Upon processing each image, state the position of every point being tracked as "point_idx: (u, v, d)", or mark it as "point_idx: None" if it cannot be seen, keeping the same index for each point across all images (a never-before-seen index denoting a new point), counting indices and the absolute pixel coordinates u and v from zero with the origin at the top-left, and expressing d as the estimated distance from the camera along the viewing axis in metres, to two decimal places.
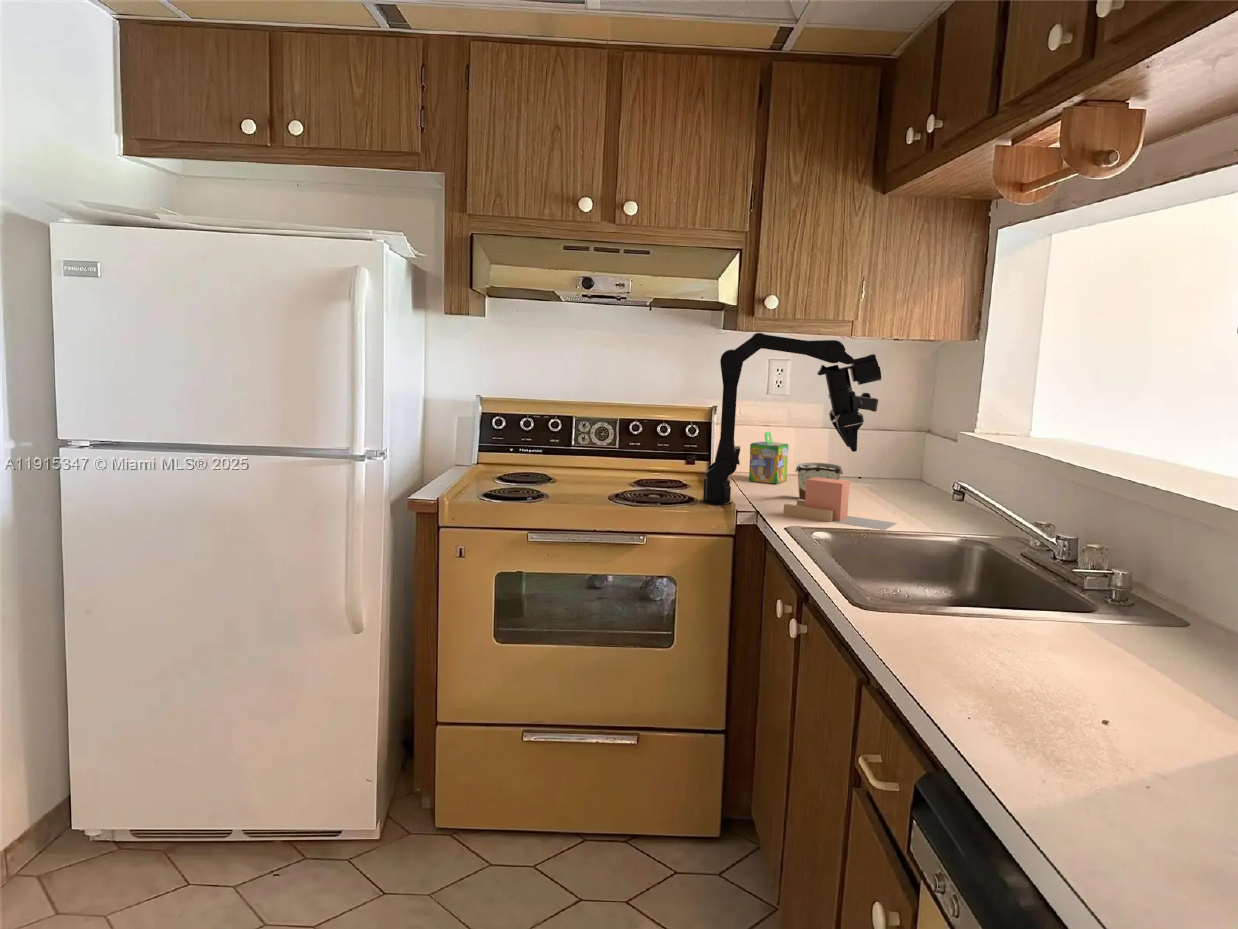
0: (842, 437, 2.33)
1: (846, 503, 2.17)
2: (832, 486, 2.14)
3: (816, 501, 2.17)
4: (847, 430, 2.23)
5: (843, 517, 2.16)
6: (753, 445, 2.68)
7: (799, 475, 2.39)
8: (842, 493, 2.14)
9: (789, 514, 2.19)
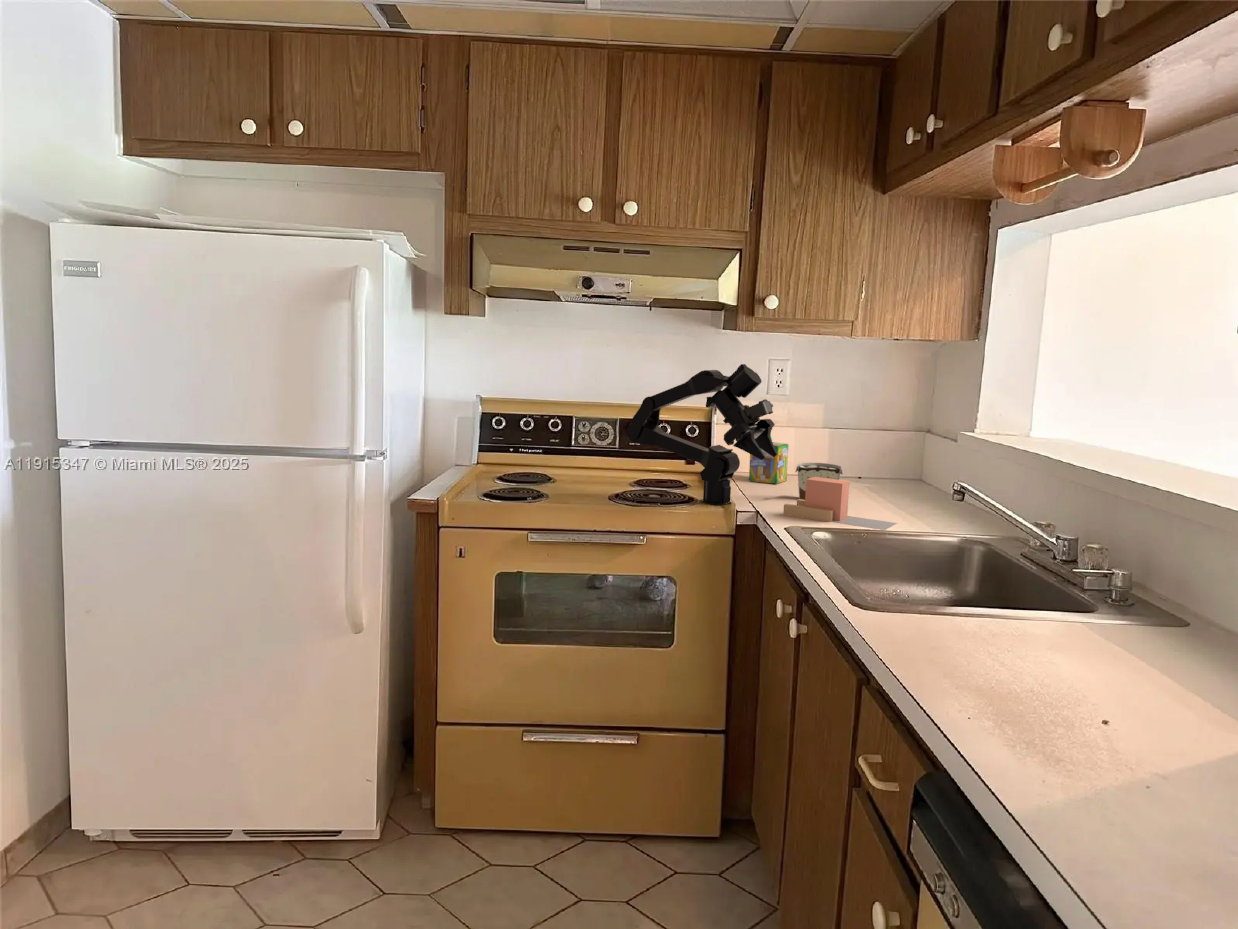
0: (765, 450, 2.30)
1: (846, 503, 2.17)
2: (832, 486, 2.14)
3: (816, 501, 2.17)
4: (745, 443, 2.23)
5: (843, 517, 2.16)
6: None
7: (799, 475, 2.39)
8: (842, 493, 2.14)
9: (789, 514, 2.19)
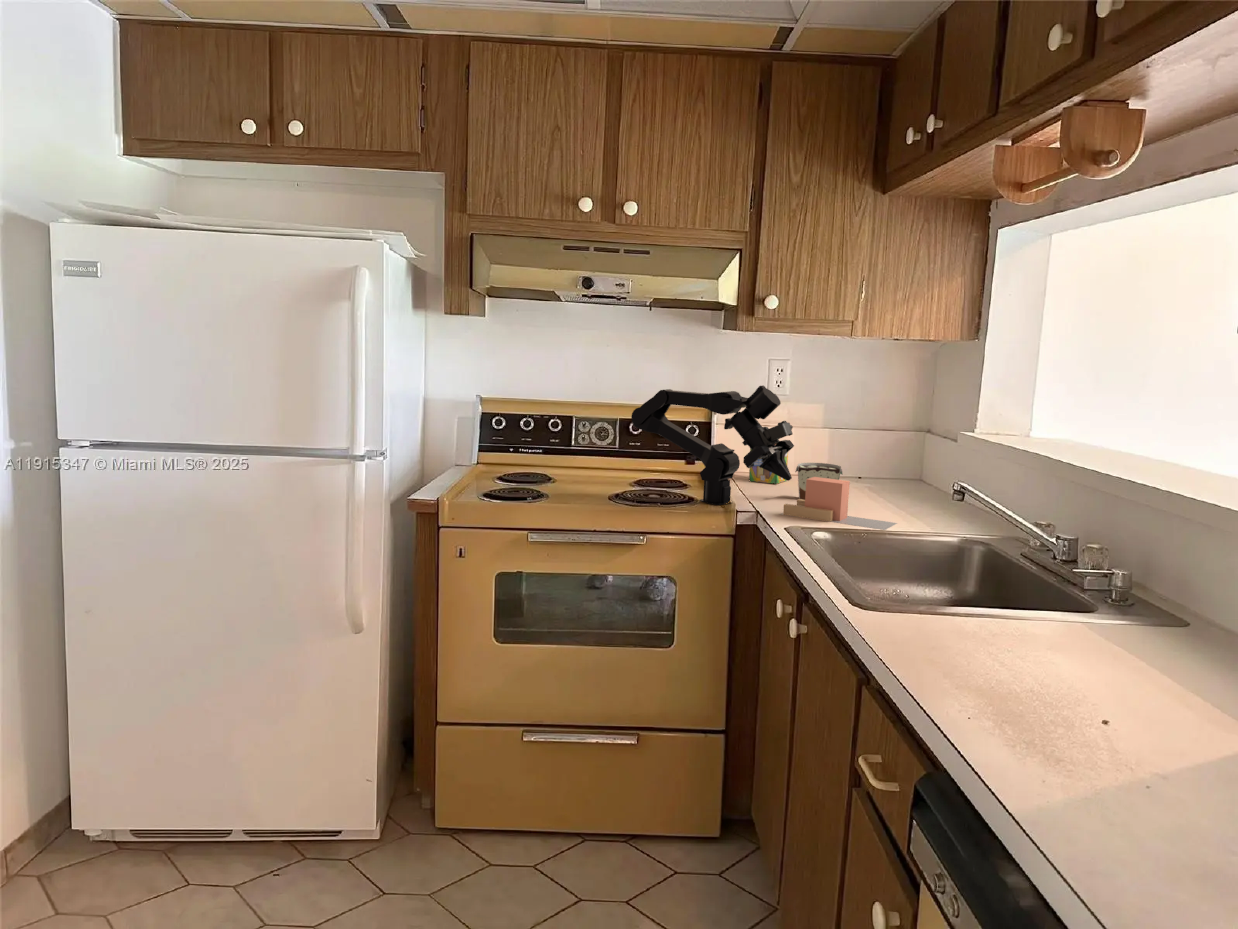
0: None
1: (846, 503, 2.17)
2: (832, 486, 2.14)
3: (816, 501, 2.17)
4: (770, 464, 2.24)
5: (843, 517, 2.16)
6: None
7: (799, 475, 2.39)
8: (842, 493, 2.14)
9: (789, 514, 2.19)
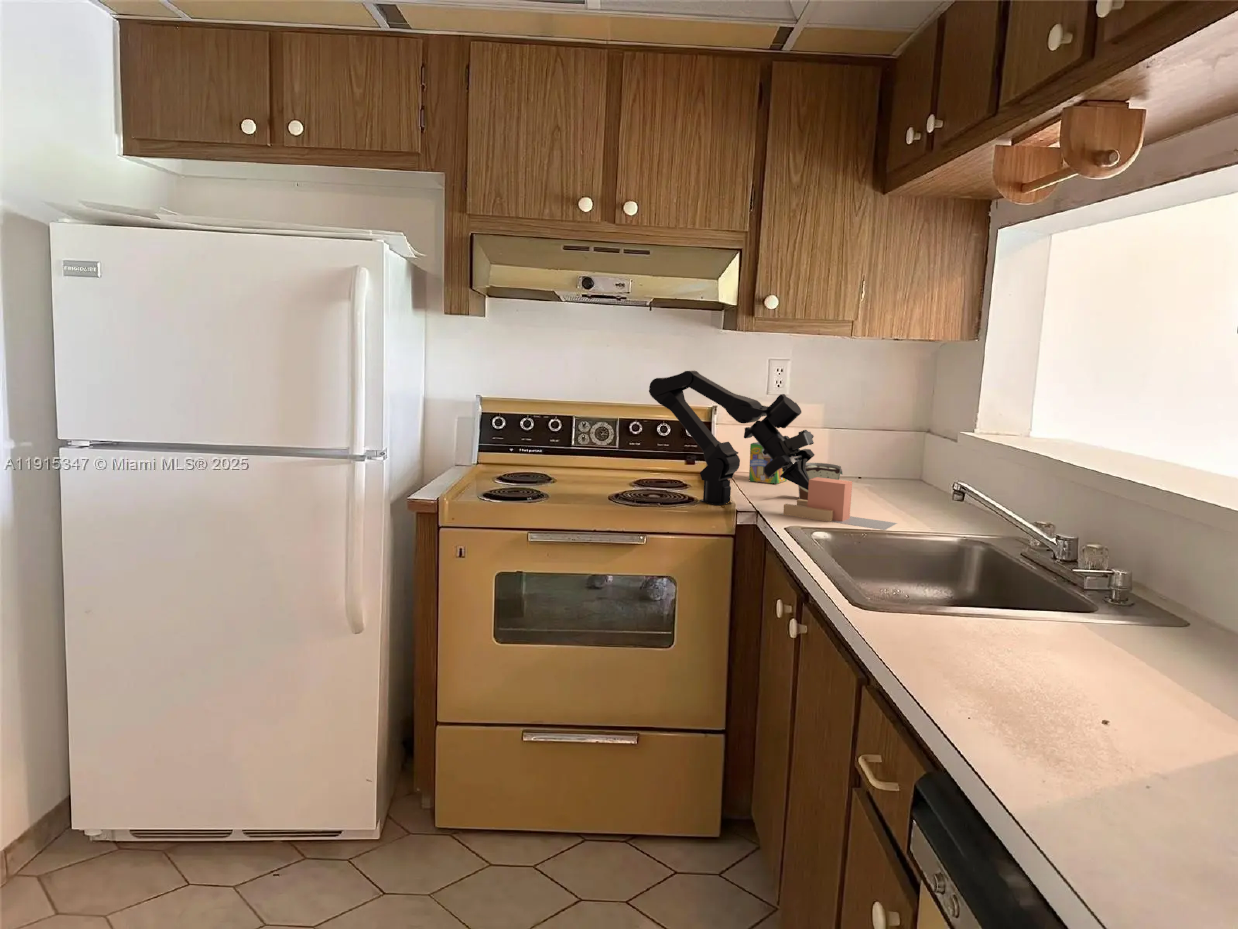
0: None
1: (849, 503, 2.16)
2: (834, 486, 2.14)
3: (818, 501, 2.17)
4: (791, 474, 2.21)
5: (846, 517, 2.16)
6: (753, 445, 2.68)
7: None
8: (845, 494, 2.13)
9: (789, 514, 2.19)
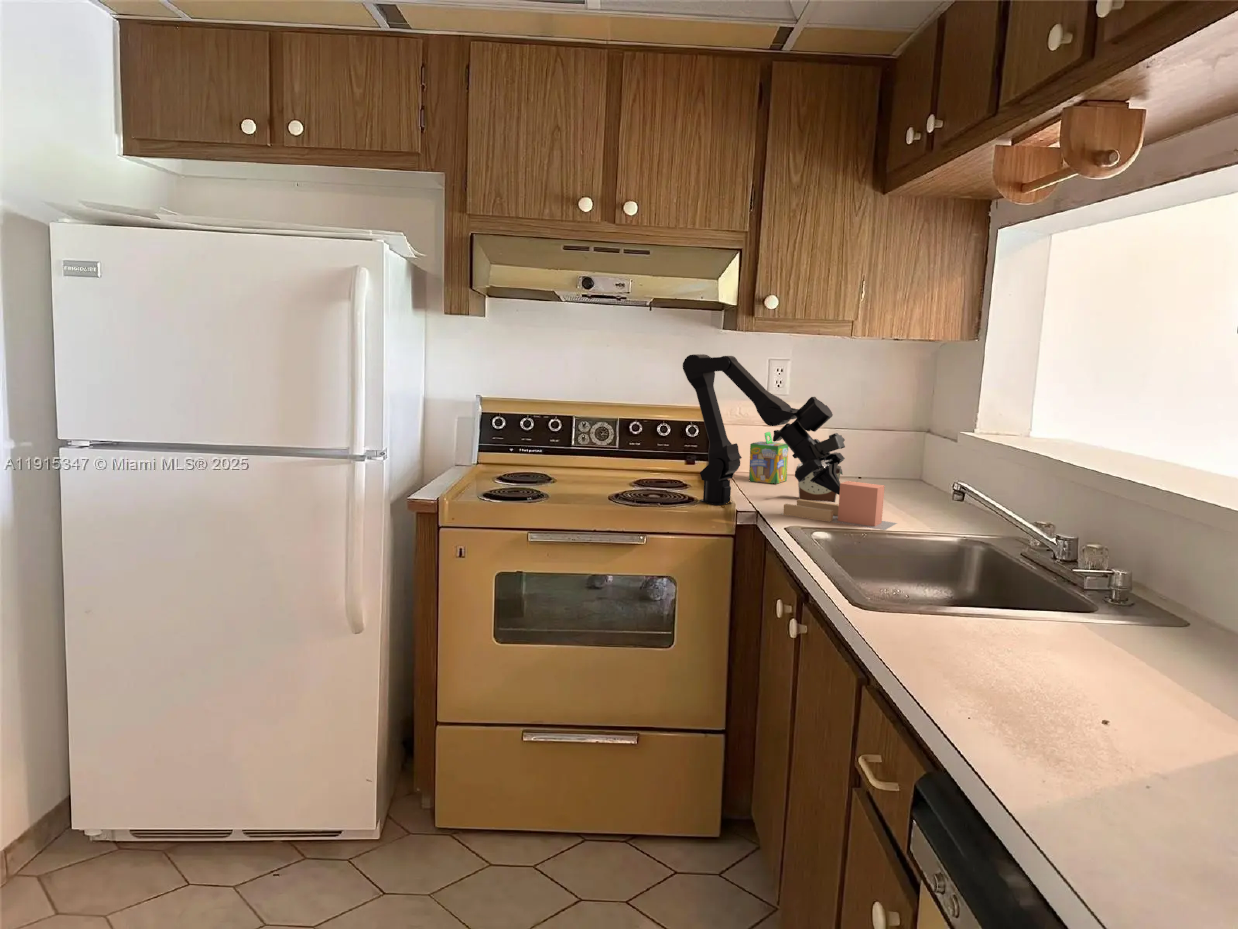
0: None
1: (881, 508, 2.12)
2: (867, 490, 2.10)
3: (850, 505, 2.12)
4: (822, 478, 2.17)
5: (878, 522, 2.11)
6: (753, 445, 2.68)
7: None
8: (877, 498, 2.09)
9: (789, 514, 2.19)
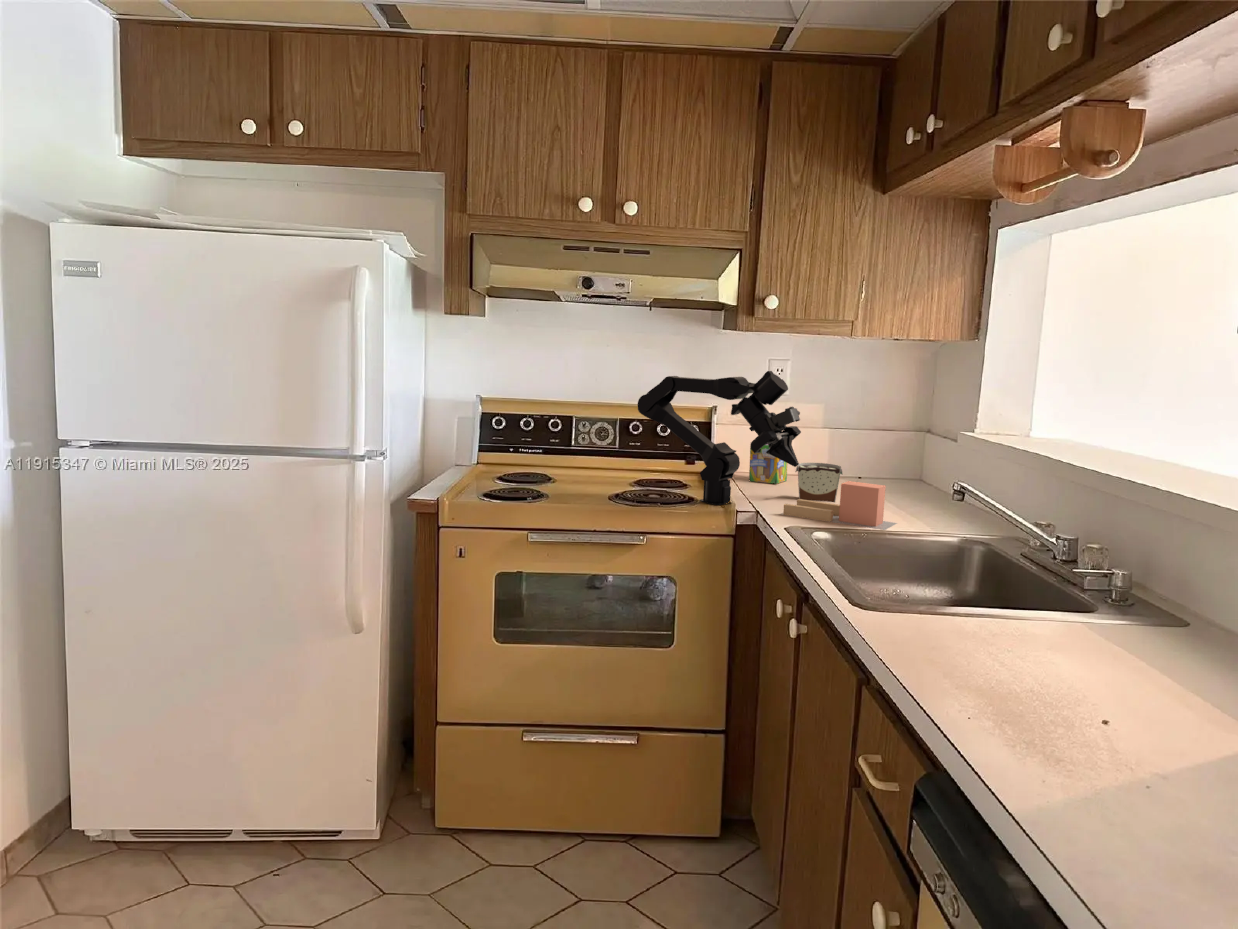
0: None
1: (882, 508, 2.12)
2: (868, 490, 2.09)
3: (851, 506, 2.12)
4: (777, 450, 2.22)
5: (879, 522, 2.11)
6: None
7: (799, 475, 2.39)
8: (878, 498, 2.09)
9: (789, 514, 2.19)
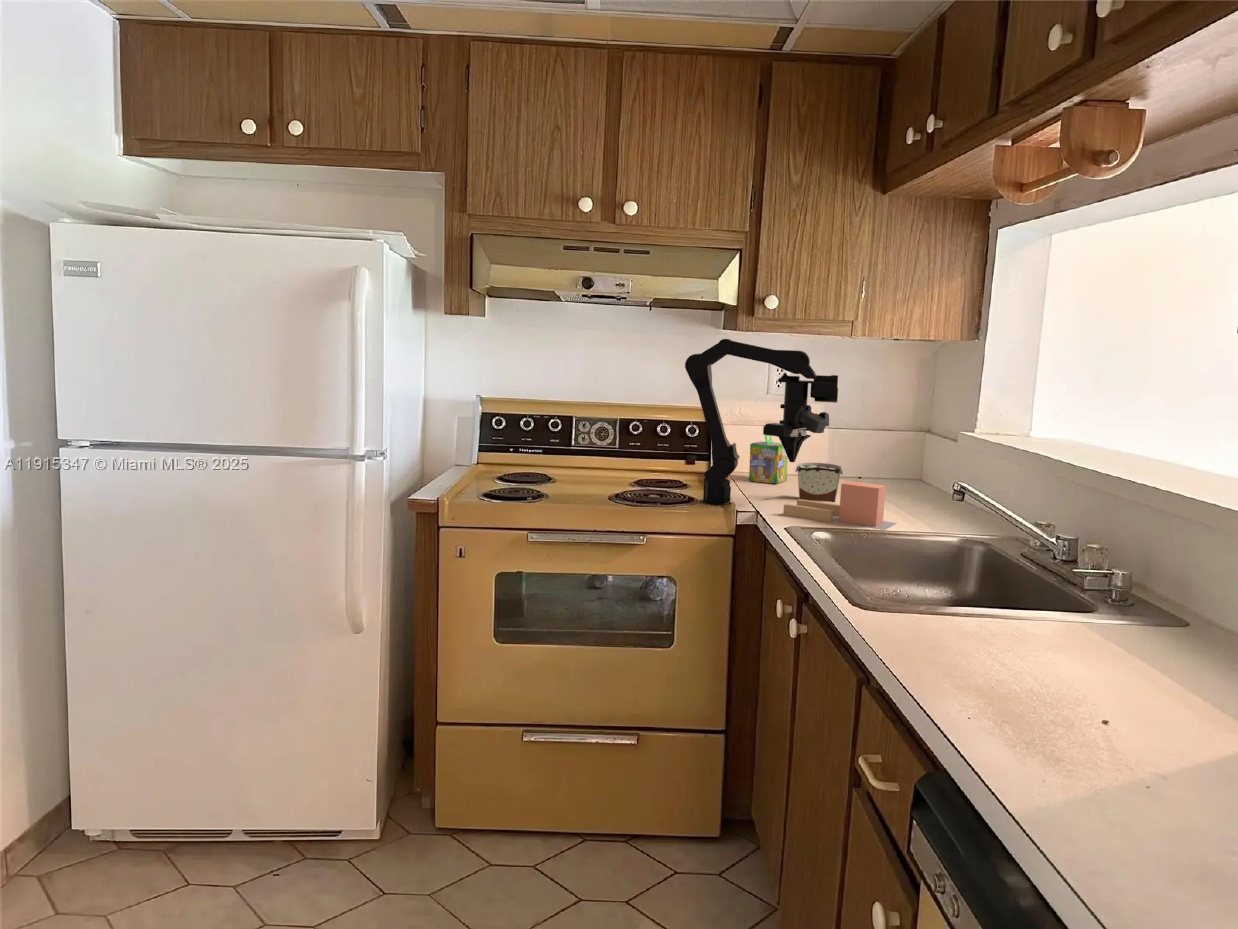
0: None
1: (882, 508, 2.12)
2: (868, 490, 2.09)
3: (851, 506, 2.12)
4: (787, 439, 2.28)
5: (879, 522, 2.11)
6: (753, 445, 2.68)
7: (799, 475, 2.39)
8: (878, 498, 2.09)
9: (789, 514, 2.19)
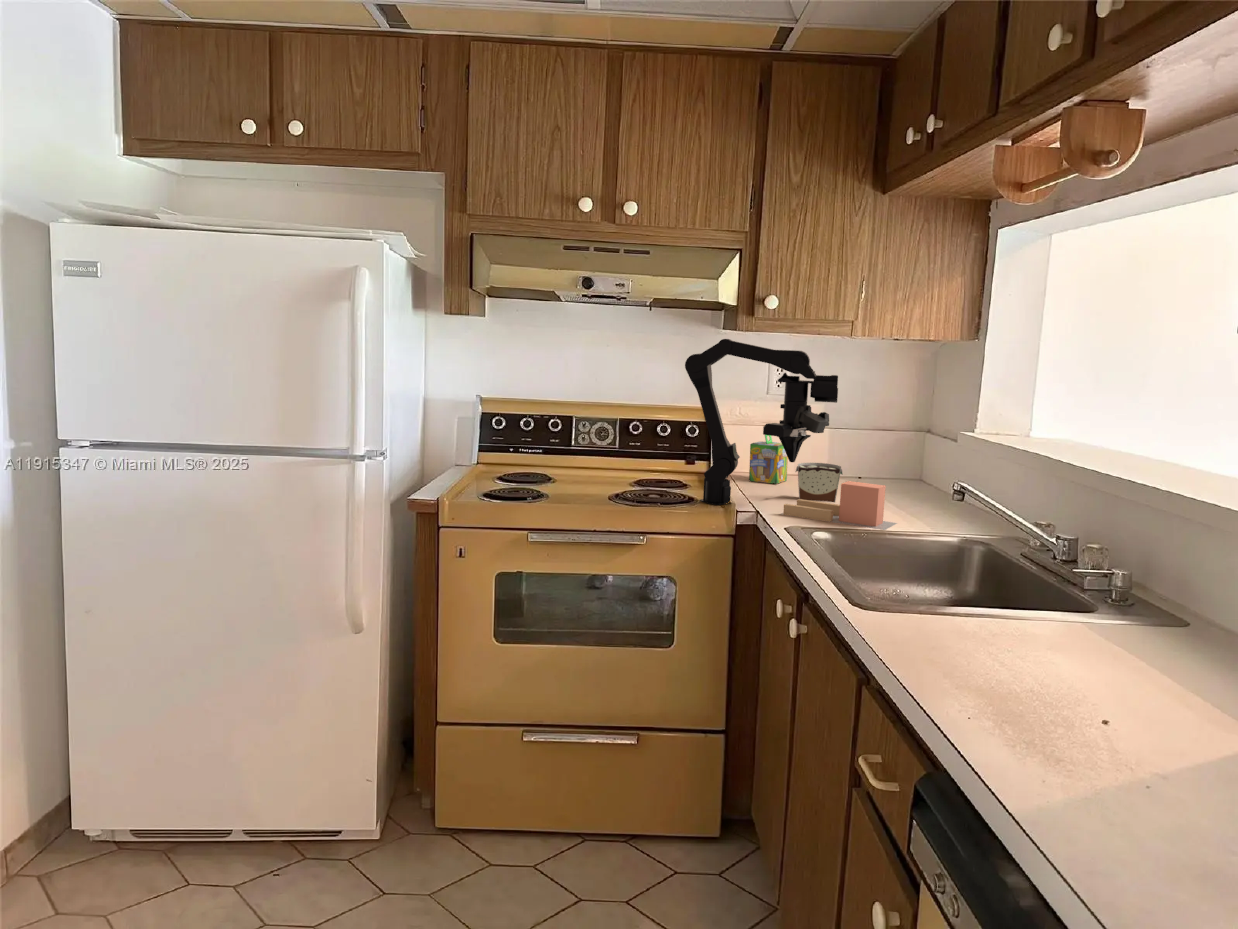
0: None
1: (882, 508, 2.12)
2: (868, 490, 2.09)
3: (851, 506, 2.12)
4: (787, 439, 2.28)
5: (879, 522, 2.11)
6: (753, 445, 2.68)
7: (799, 475, 2.39)
8: (878, 498, 2.09)
9: (789, 514, 2.19)
